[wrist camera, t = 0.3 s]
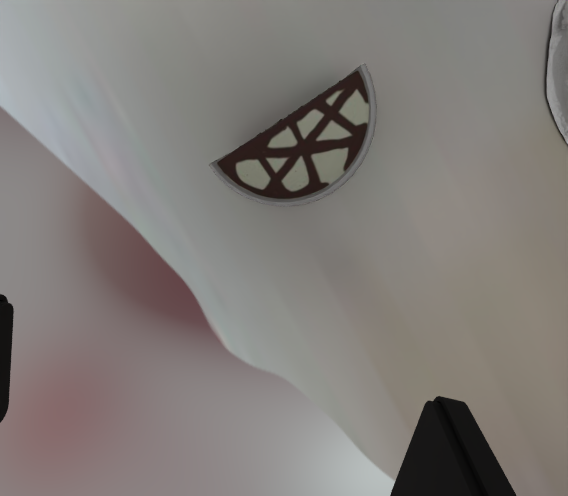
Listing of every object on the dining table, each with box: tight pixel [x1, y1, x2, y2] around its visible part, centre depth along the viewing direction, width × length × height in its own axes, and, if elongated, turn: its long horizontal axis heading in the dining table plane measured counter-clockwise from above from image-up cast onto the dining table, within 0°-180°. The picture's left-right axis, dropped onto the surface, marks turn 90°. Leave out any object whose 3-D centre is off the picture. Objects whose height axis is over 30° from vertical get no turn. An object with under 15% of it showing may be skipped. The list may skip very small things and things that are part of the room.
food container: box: [209, 63, 377, 206], centre depth 33 cm, size 12×6×10 cm, turn 122°
